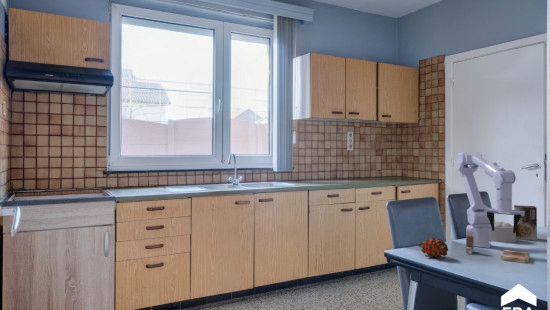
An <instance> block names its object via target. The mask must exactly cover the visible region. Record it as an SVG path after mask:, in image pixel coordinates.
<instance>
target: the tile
mask: <svg viewBox="0 0 550 310" xmlns="http://www.w3.org/2000/svg"><path fill="white" fill-rule="evenodd" d="M506 256H512V257H520V258H525V256H519V255H512V254H508V255H506Z"/></svg>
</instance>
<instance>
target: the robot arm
mask: <svg viewBox="0 0 550 310" xmlns="http://www.w3.org/2000/svg"><path fill="white" fill-rule="evenodd" d="M455 164H456V167H457V169H458V171H459V173H460V177H461V180H462V182H463V186H464V189H465V193H466V195H467V199H468V203H469V206H470V207H469V208H468V209H467V210H466V215H467V222H468V223H469V224H468V225H467V226H466V232H465V235H466V236H467V235H469V236H474V238H473V246H474V247H478V248H479V247H480V248H486V249H489V248H491V247H492V243H490V241H489V239H490V227H492V231H494V222H495V214H497V215H505V216H506V215H508V216H509V215H510V216H513V226H514V228H513V233H515V232H516V227H517V224H518V222H519V220H520V218H521V216H524V211H519V210H514V209H513V184H515V182H516V174H515V172H514V171H513V170H510V169H507V170H506V169H505V168H504V167H501V166H500V165H498V163H497V162H493V161H492V162H489V161H488V160H487V159H485V158H484V157H483V155H482V154H481V153H480V152H463V151H462V152H458V153H457V154H456V158H455ZM479 167H480V168H481V169H482V170H483V171H484V174H485V175H487V176H489V177H490V178H491V179H492V180H493V183H494V187H495V191H496V193H495V208H493V207H491V208H490V207H489V206H487V205H485V204H484V202H483V200H482V196H481V194H480V190H479V187H478V184H477V182H476V178H475V176H474V173H475V172H476V171H477V170H478V169H479ZM466 236H465V237H466Z"/></svg>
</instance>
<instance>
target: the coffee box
mask: <svg viewBox="0 0 550 310" xmlns="http://www.w3.org/2000/svg"><path fill="white" fill-rule="evenodd" d="M513 210H519V211H524V216H521V218H520V220H519V222H518V224H517V227H516V240H523V241H538V231H537V230H538V216H537V215H538V214H537V213H538V211H537V210H538V208H537V207H536V206H535V205H518V204H515V205H513Z"/></svg>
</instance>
